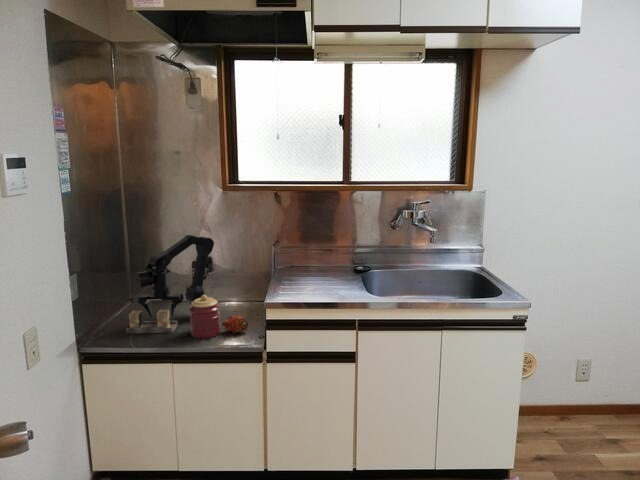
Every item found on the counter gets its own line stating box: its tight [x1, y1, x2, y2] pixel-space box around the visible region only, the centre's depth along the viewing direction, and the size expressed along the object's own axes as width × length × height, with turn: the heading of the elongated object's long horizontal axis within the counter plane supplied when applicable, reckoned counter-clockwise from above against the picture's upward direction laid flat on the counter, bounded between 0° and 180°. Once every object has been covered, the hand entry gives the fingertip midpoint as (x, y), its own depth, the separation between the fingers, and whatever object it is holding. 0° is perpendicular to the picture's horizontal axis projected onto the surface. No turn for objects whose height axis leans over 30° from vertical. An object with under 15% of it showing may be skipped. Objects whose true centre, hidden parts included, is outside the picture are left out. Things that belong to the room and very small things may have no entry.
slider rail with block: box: [125, 310, 179, 335], centre depth 204 cm, size 20×9×8 cm, turn 93°
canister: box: [188, 294, 222, 339], centre depth 198 cm, size 13×13×18 cm
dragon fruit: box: [221, 314, 249, 335], centre depth 200 cm, size 8×8×12 cm
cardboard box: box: [155, 309, 171, 327], centre depth 204 cm, size 5×5×7 cm
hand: (162, 316), depth 203 cm, fingers open, 9 cm apart
